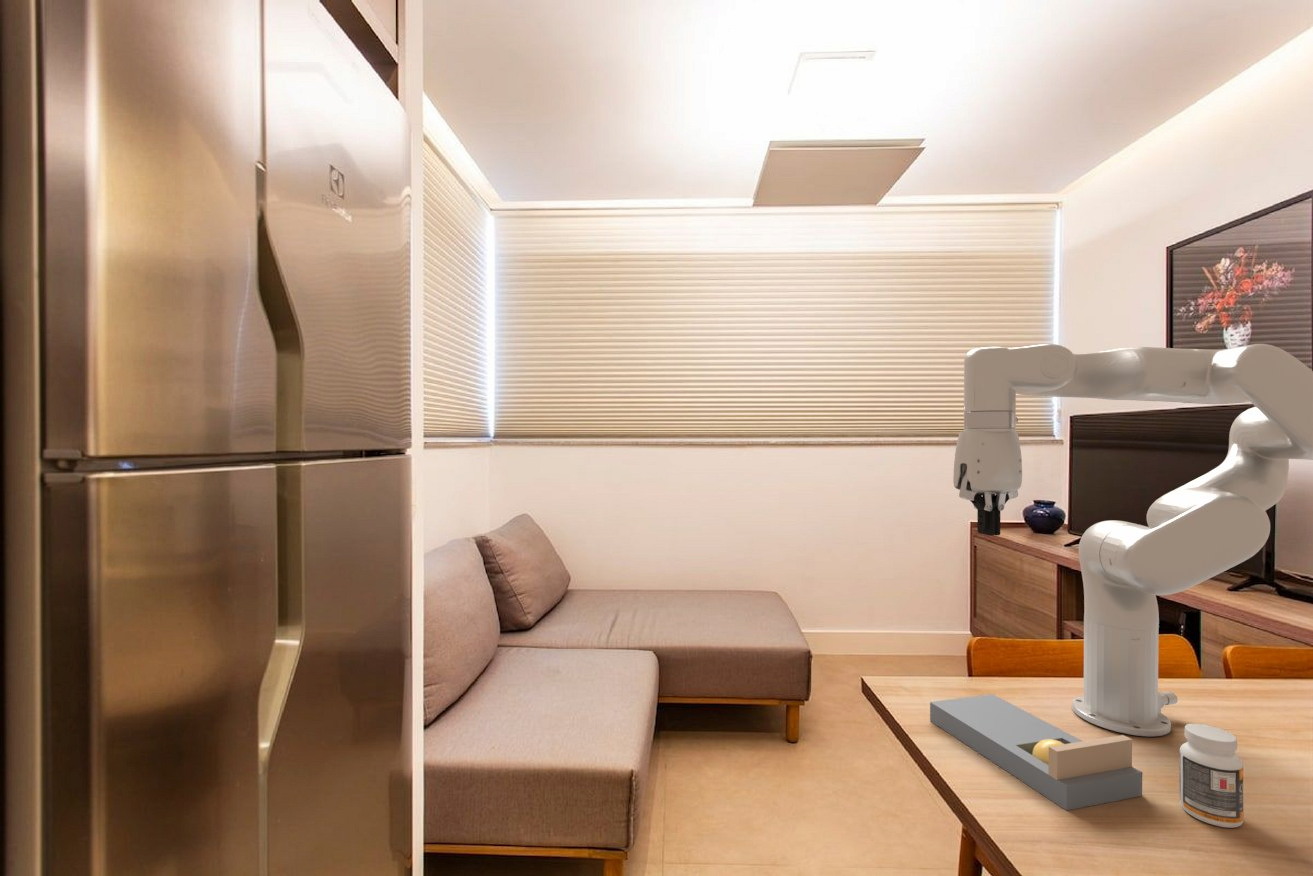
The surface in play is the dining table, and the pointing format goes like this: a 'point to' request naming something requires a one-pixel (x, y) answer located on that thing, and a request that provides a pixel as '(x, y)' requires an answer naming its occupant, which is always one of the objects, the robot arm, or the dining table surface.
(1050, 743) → the ball
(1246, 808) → the dining table surface
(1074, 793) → the board
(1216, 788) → the pill bottle
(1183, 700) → the dining table surface
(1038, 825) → the dining table surface
